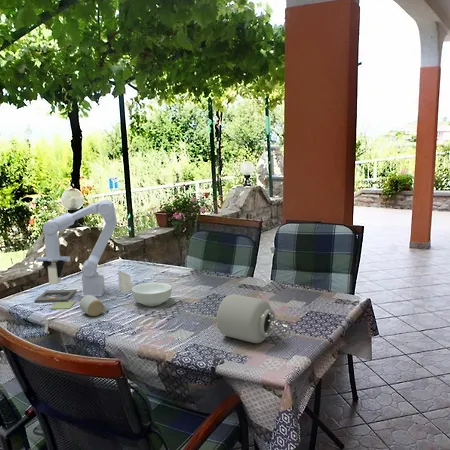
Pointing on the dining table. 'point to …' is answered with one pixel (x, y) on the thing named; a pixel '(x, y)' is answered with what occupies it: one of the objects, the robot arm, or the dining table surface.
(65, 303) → the rubber mat
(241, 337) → the jar
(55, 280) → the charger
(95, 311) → the ceramic mug
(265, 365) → the dining table surface
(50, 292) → the grey square frame
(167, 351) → the dining table surface
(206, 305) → the dining table surface
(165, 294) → the cereal bowl
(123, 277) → the white wedge bracket
